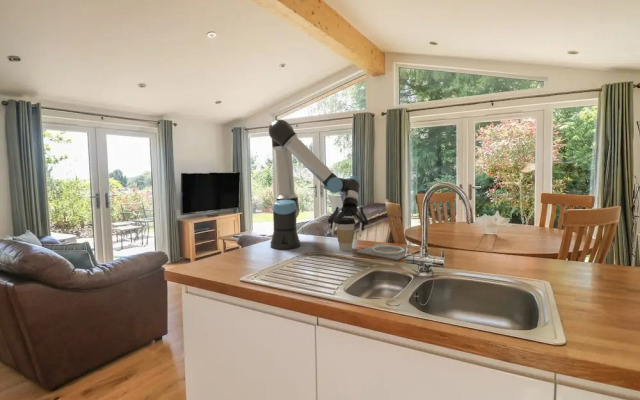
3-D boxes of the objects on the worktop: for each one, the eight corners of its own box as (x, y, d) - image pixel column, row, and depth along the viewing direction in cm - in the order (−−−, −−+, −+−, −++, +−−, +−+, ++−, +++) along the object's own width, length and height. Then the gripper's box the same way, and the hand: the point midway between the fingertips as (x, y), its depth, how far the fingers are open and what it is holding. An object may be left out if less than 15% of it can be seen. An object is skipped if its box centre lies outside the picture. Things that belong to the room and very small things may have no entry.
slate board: (355, 252, 165) (355, 249, 164) (379, 244, 181) (379, 241, 181) (397, 260, 150) (397, 257, 150) (419, 250, 167) (419, 248, 167)
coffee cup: (359, 248, 174) (359, 218, 172) (349, 252, 165) (349, 221, 164) (341, 246, 179) (341, 216, 177) (331, 249, 170) (331, 219, 169)
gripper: (375, 205, 183) (372, 240, 170) (328, 205, 189) (322, 238, 176) (374, 196, 177) (371, 231, 164) (326, 196, 183) (319, 229, 170)
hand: (346, 235), depth 170 cm, fingers open, 13 cm apart
